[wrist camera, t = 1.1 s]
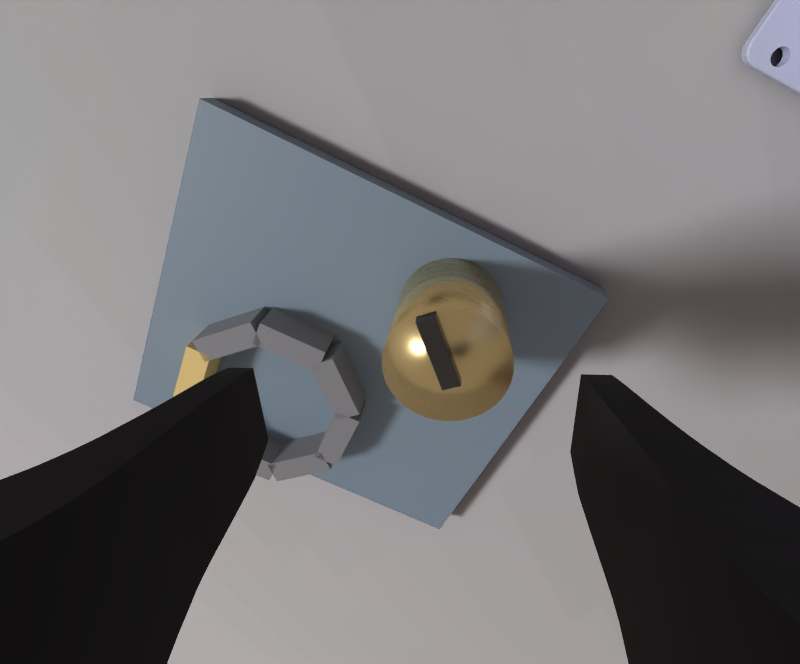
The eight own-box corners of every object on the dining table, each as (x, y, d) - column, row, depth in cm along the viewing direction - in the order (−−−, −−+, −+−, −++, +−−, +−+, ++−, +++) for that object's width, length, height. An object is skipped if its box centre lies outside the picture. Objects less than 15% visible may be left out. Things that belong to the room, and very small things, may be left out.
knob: (515, 338, 19) (530, 412, 15) (419, 363, 20) (406, 440, 16) (486, 243, 17) (494, 296, 13) (383, 276, 18) (359, 335, 14)
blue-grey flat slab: (602, 288, 19) (621, 315, 17) (440, 513, 25) (438, 554, 23) (213, 97, 17) (176, 99, 15) (145, 388, 24) (112, 419, 21)
